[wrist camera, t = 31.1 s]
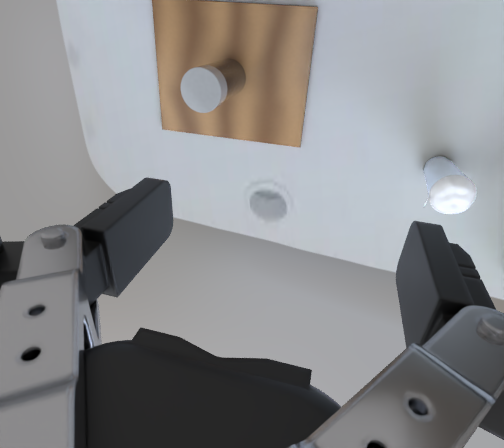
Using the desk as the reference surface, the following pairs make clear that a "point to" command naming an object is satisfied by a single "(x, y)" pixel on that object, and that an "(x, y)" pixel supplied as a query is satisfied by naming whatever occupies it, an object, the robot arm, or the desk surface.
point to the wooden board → (248, 55)
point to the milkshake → (448, 186)
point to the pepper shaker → (212, 84)
